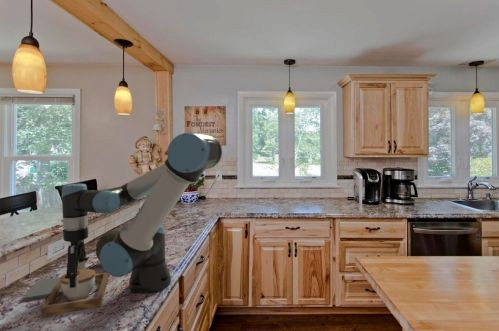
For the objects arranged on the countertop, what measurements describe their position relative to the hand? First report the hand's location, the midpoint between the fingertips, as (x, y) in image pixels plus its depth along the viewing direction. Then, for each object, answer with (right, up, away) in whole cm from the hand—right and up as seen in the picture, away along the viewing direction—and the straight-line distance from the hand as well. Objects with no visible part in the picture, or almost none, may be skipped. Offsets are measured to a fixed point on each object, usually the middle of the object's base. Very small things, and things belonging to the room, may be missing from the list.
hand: (77, 287), depth 103 cm
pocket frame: (0, -3, 0) cm, 3 cm away
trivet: (-13, -3, +7) cm, 15 cm away
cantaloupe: (-1, -2, +30) cm, 30 cm away
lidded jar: (0, -4, 0) cm, 4 cm away
